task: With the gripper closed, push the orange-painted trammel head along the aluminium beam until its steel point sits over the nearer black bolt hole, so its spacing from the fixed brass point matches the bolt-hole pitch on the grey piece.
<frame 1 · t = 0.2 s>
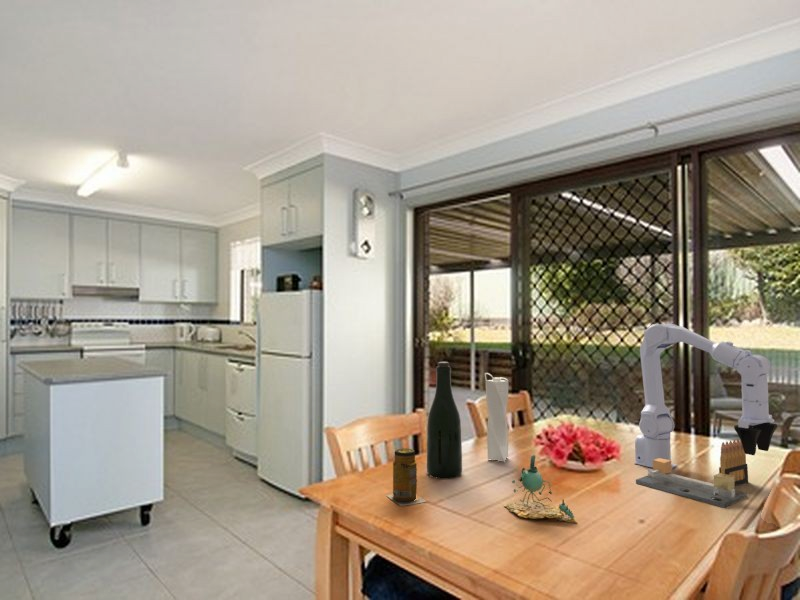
hand: (756, 452, 130), 10 cm above the table, fingers open, 7 cm apart
condiment: (405, 499, 125), on the table
green creature figurine: (536, 516, 114), on the table
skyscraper: (497, 459, 160), on the table
grey piece: (689, 489, 131), on the table
dark green wine bottle: (444, 474, 145), on the table
trammel head: (659, 468, 136), point 4 cm above the table, slide at 0.0 cm
ammunition clip: (734, 485, 135), on the table
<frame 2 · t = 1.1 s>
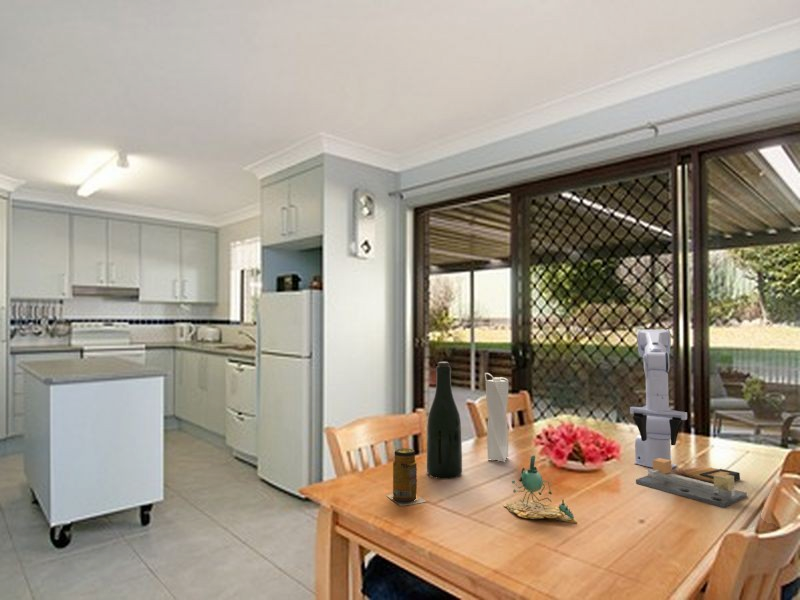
hand: (658, 442, 140), 10 cm above the table, fingers open, 7 cm apart
ammunition clip: (729, 479, 136), point 1 cm above the table
everything else where it was.
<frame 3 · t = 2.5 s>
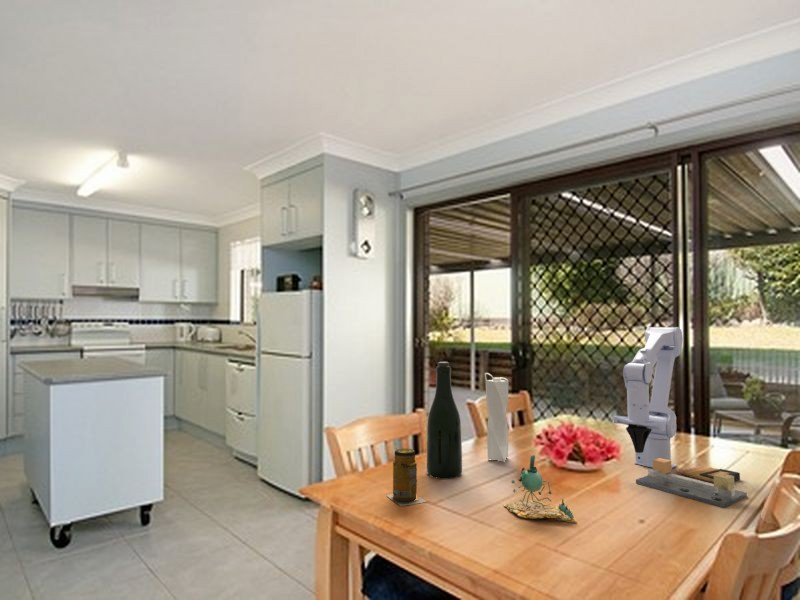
hand: (639, 452, 142), 7 cm above the table, fingers closed
nothing on the table moved.
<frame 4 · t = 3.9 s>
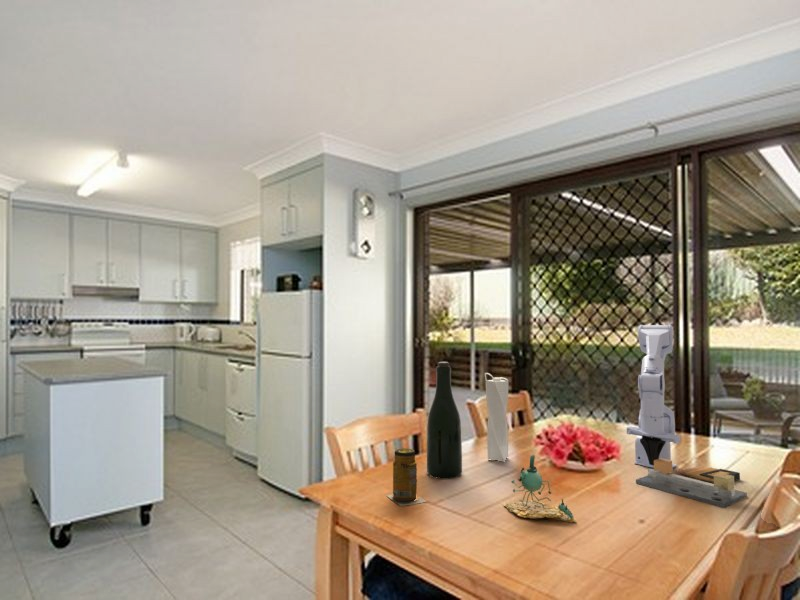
hand: (653, 464, 139), 4 cm above the table, fingers closed
trammel head: (660, 469, 136), point 4 cm above the table, slide at 0.3 cm, touching gripper
everything else where it was.
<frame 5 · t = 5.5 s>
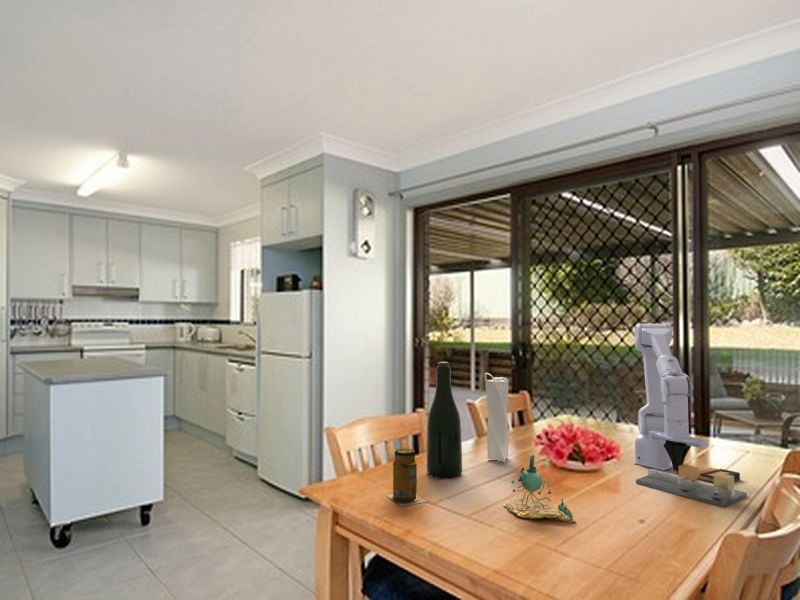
hand: (677, 470, 133), 4 cm above the table, fingers closed
trammel head: (685, 475, 130), point 4 cm above the table, slide at 6.9 cm, touching gripper
everything else where it was.
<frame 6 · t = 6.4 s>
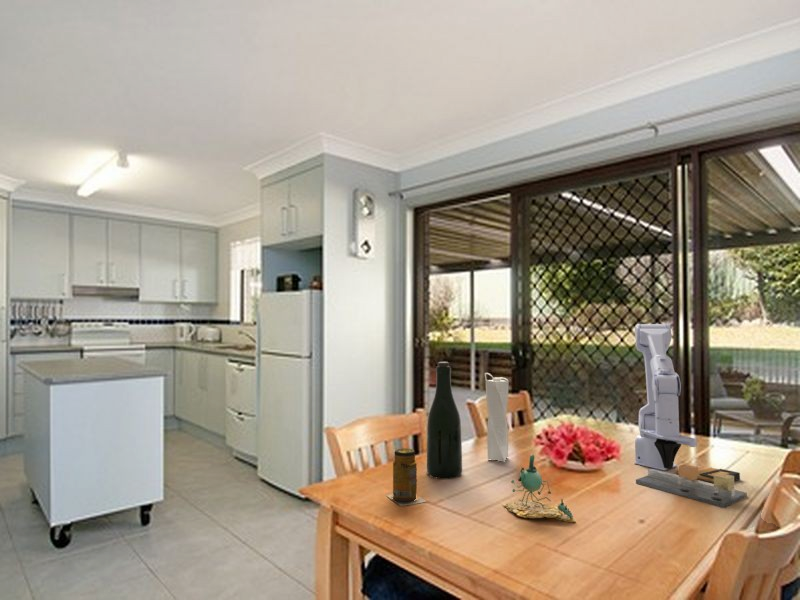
hand: (668, 468, 135), 4 cm above the table, fingers closed
trammel head: (685, 475, 130), point 4 cm above the table, slide at 6.9 cm
everything else where it was.
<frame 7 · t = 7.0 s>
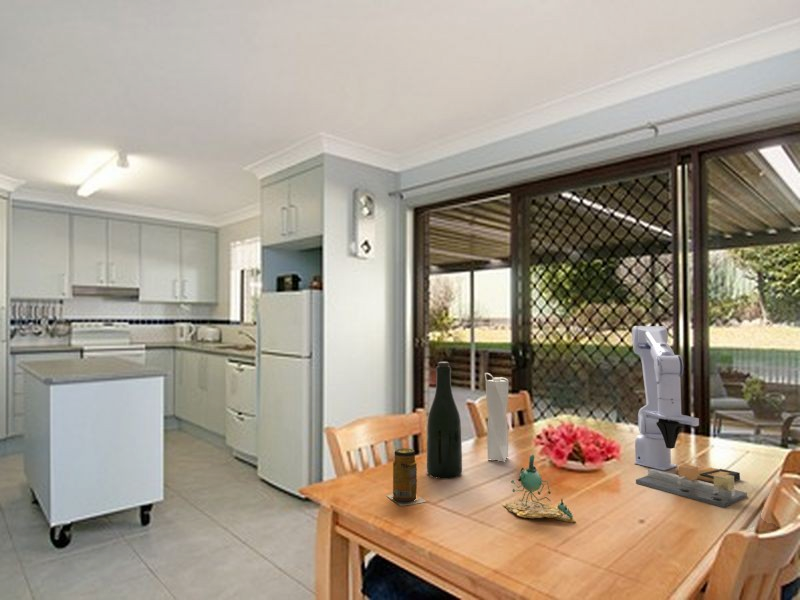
hand: (670, 447, 137), 10 cm above the table, fingers closed
nothing on the table moved.
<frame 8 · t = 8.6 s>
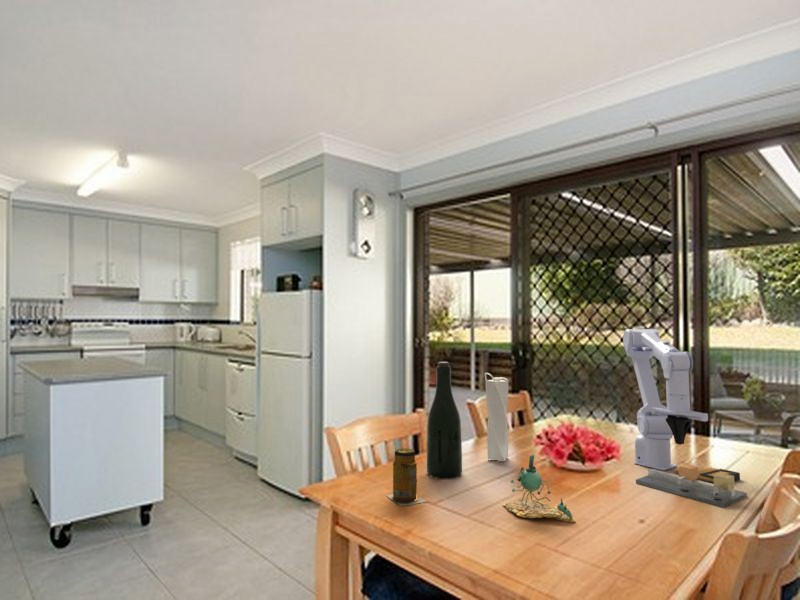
hand: (679, 443, 138), 10 cm above the table, fingers closed
nothing on the table moved.
at the end: trammel head slide at 6.9 cm; ammunition clip moved 1.5 cm from its start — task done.
